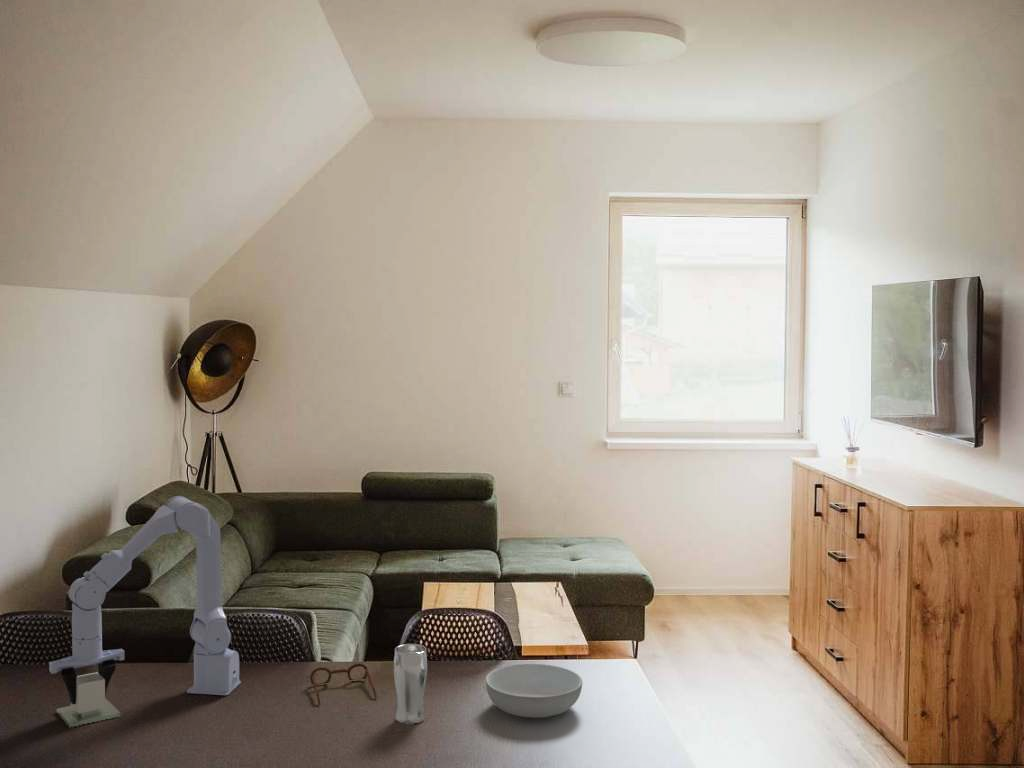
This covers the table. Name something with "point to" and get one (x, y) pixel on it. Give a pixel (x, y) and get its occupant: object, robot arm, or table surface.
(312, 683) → the glasses
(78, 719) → the duct stub
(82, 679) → the sleeve
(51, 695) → the table surface
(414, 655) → the beer glass
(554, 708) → the serving bowl
